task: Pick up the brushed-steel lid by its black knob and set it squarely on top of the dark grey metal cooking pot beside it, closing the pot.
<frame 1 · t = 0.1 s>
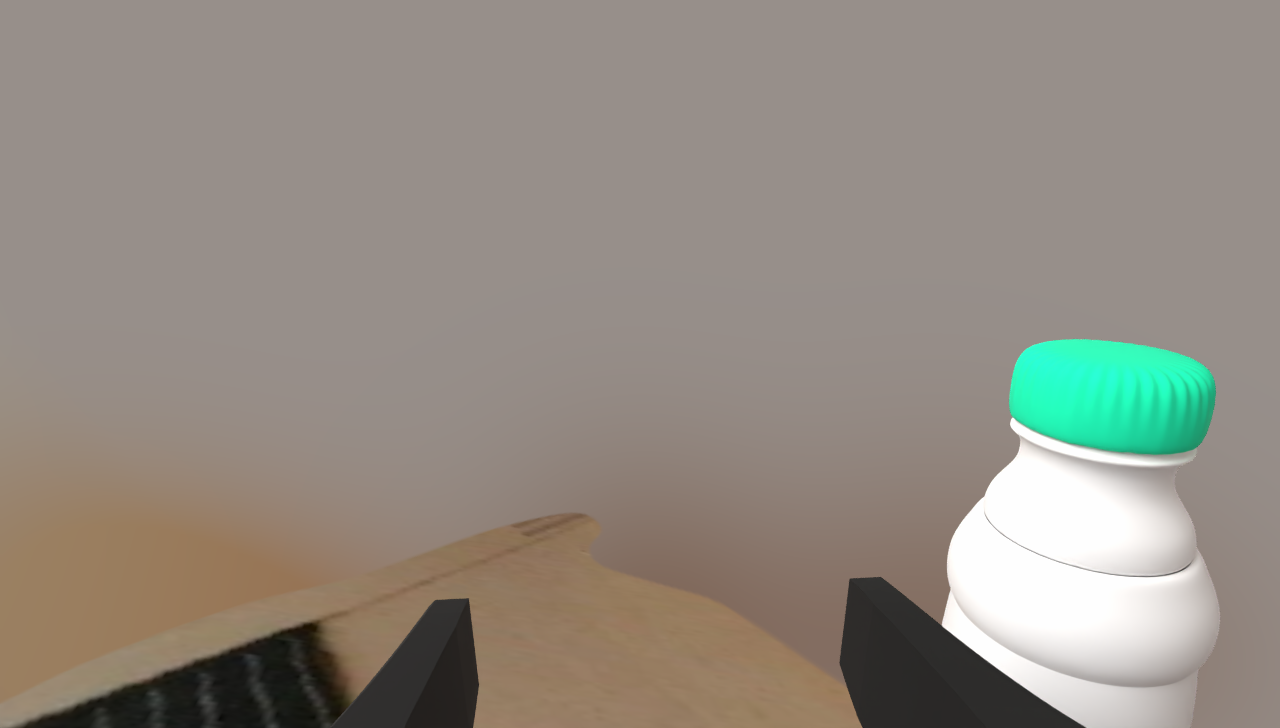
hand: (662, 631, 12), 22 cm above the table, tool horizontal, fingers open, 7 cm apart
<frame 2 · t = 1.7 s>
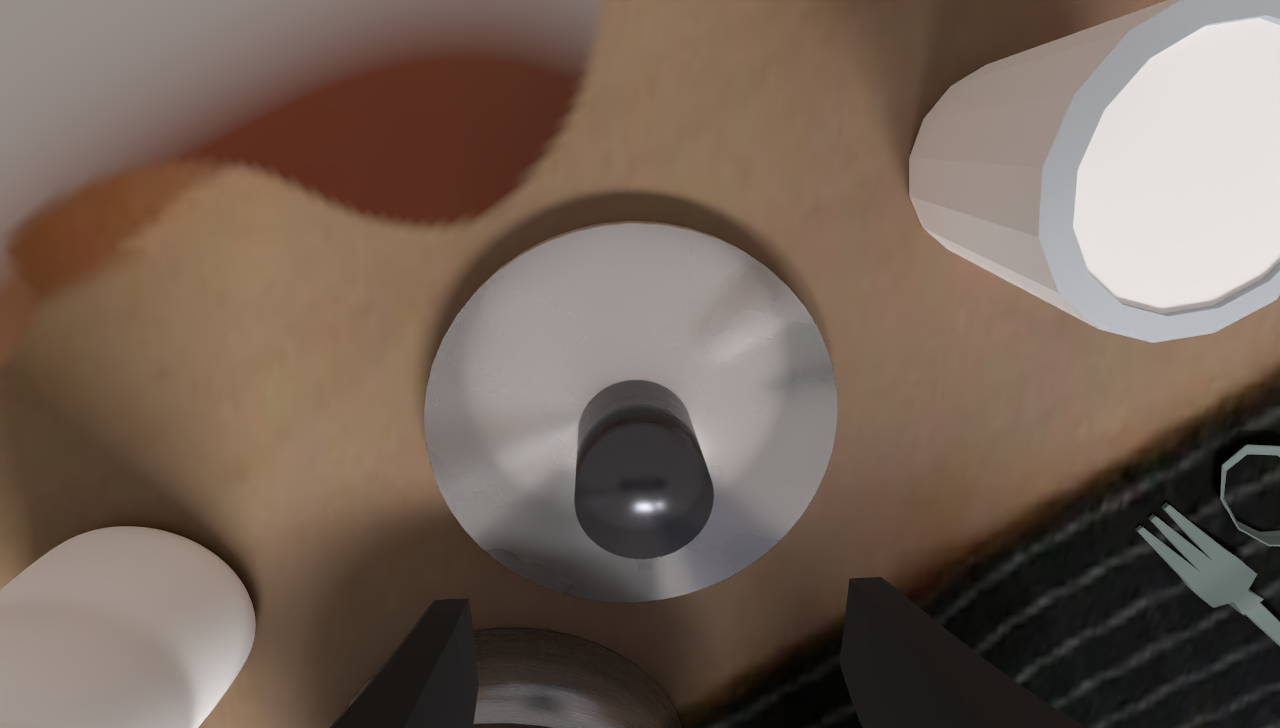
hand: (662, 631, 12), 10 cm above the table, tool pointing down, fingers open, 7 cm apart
white cup: (996, 162, 19), on the table
water bottle: (160, 600, 22), on the table
steel lid: (632, 417, 21), on the table
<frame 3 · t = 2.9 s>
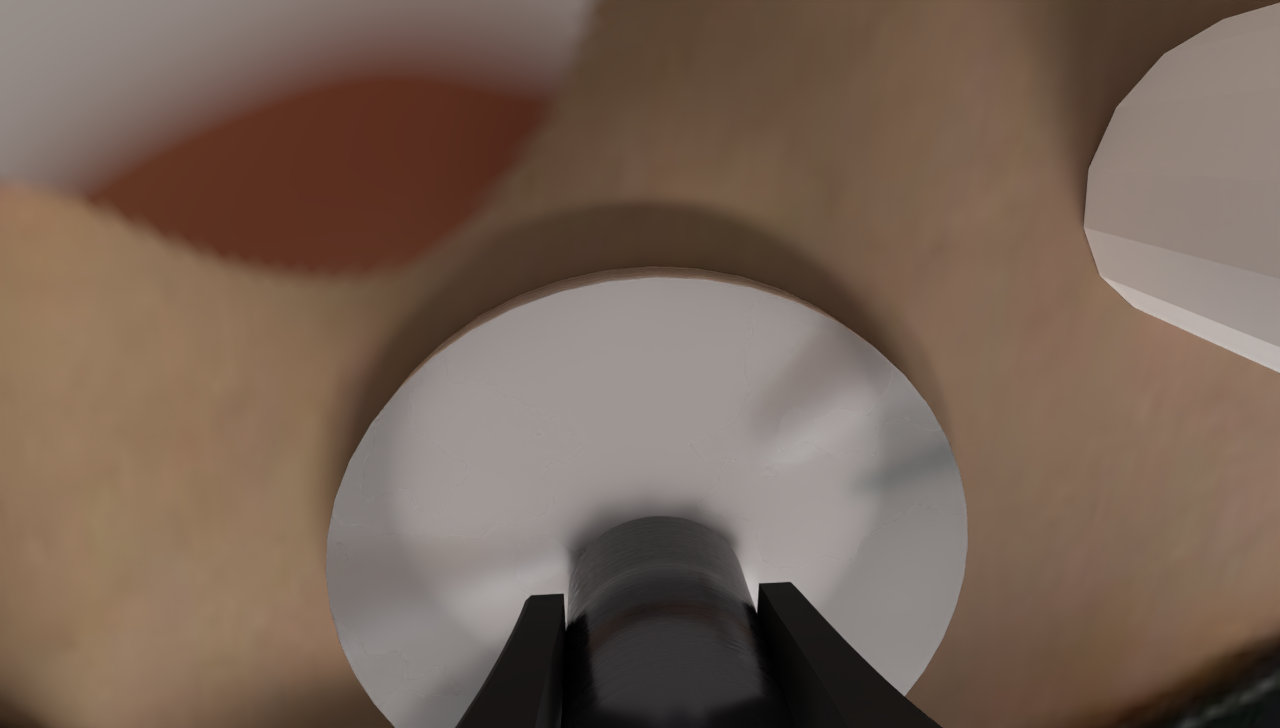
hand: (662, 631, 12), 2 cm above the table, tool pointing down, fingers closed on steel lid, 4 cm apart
white cup: (1218, 175, 12), on the table
steel lid: (651, 556, 14), on the table, touching gripper
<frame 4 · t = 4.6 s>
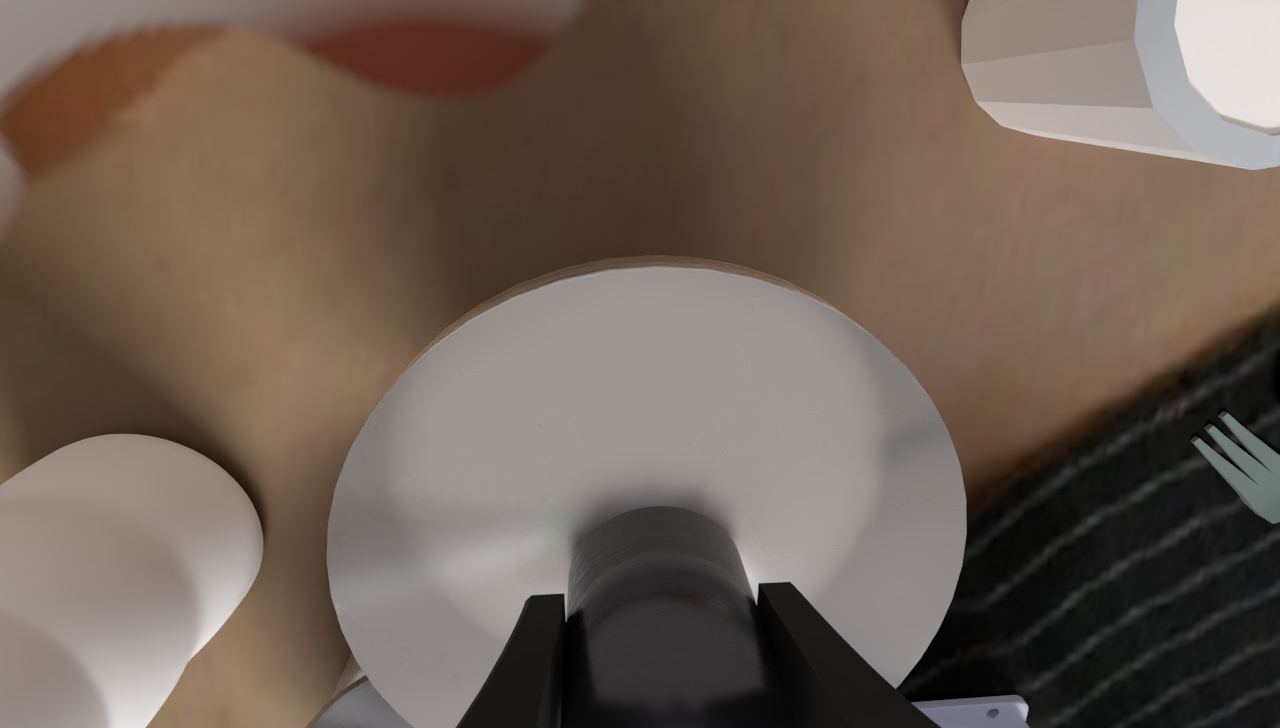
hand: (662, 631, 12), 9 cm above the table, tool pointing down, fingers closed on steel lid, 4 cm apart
white cup: (1054, 28, 18), on the table
water bottle: (162, 519, 21), on the table
steel lid: (651, 544, 14), point 7 cm above the table, touching gripper
cooking pot: (534, 704, 25), on the table
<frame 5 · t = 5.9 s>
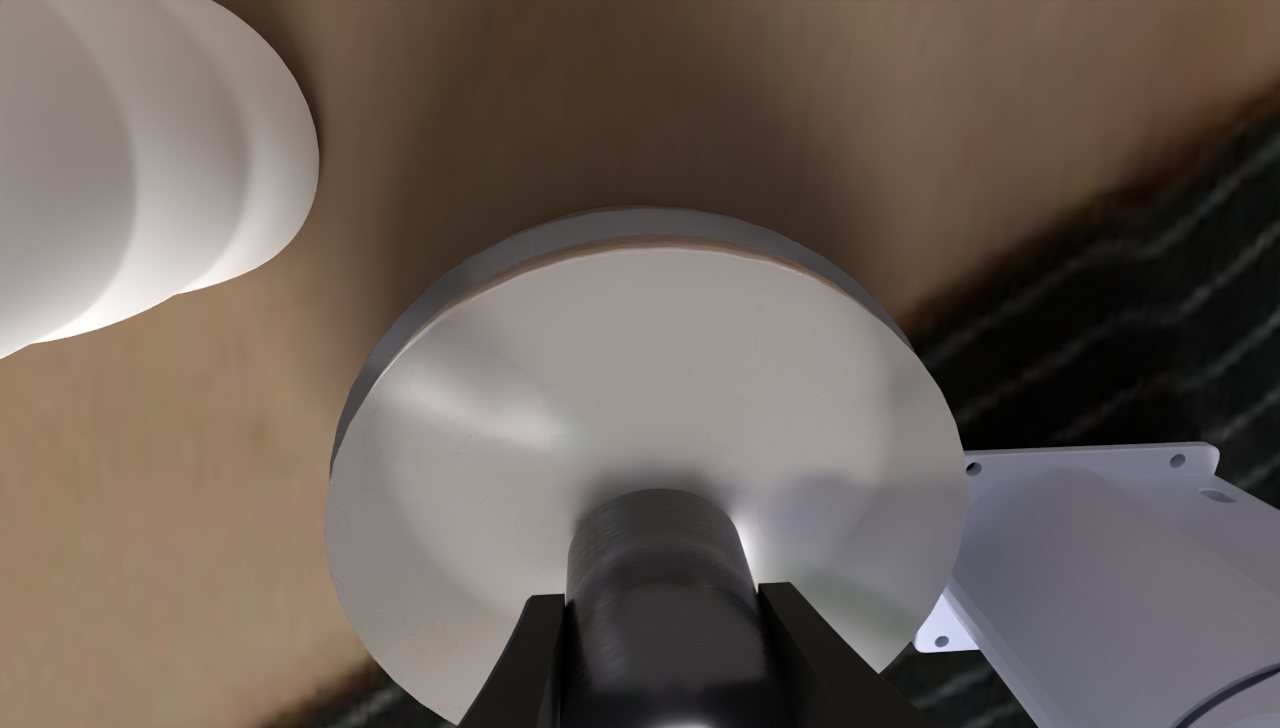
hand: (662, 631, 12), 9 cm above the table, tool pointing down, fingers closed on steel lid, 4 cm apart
water bottle: (192, 140, 17), on the table
steel lid: (650, 523, 14), point 6 cm above the table, tilted 5°, touching gripper
cooking pot: (634, 432, 20), on the table
when the fingers open (9 cm above the table, at t = 6.4 s): steel lid drops 1 cm, resting on cooking pot.
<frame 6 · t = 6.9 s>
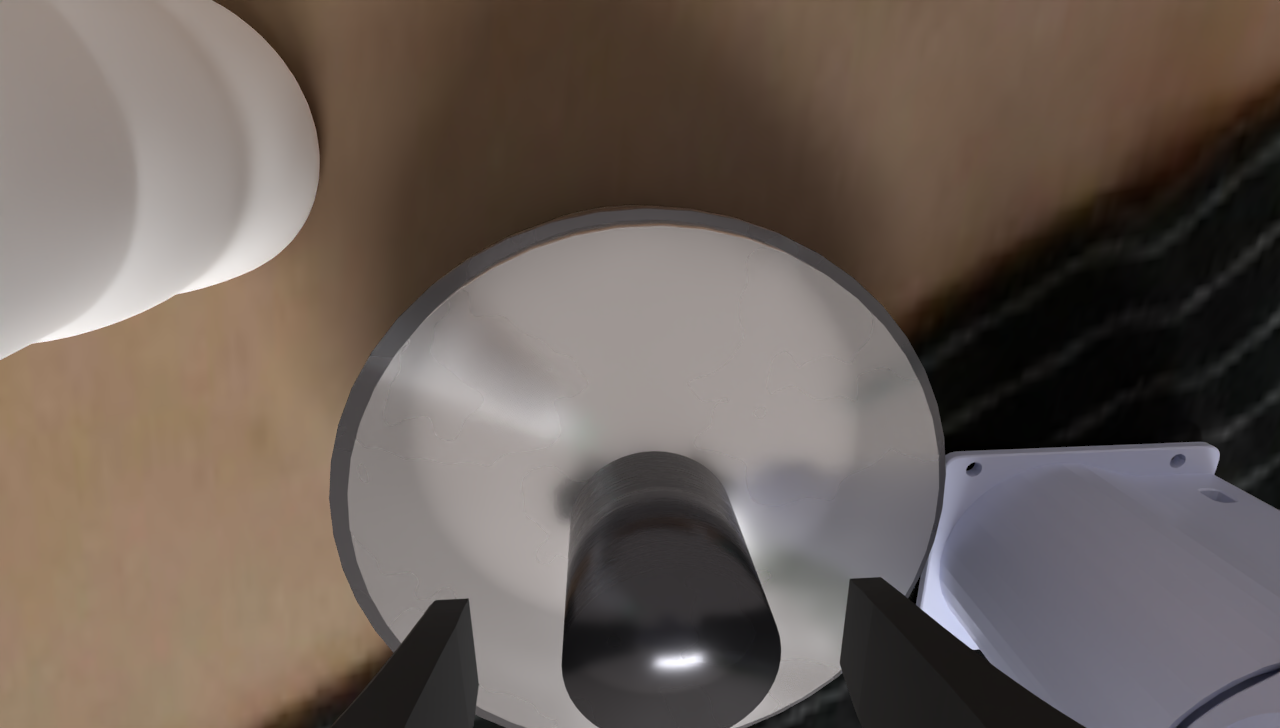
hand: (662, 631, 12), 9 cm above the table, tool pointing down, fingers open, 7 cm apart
water bottle: (193, 140, 17), on the table
steel lid: (647, 495, 15), point 5 cm above the table, touching cooking pot
cooking pot: (634, 432, 20), on the table
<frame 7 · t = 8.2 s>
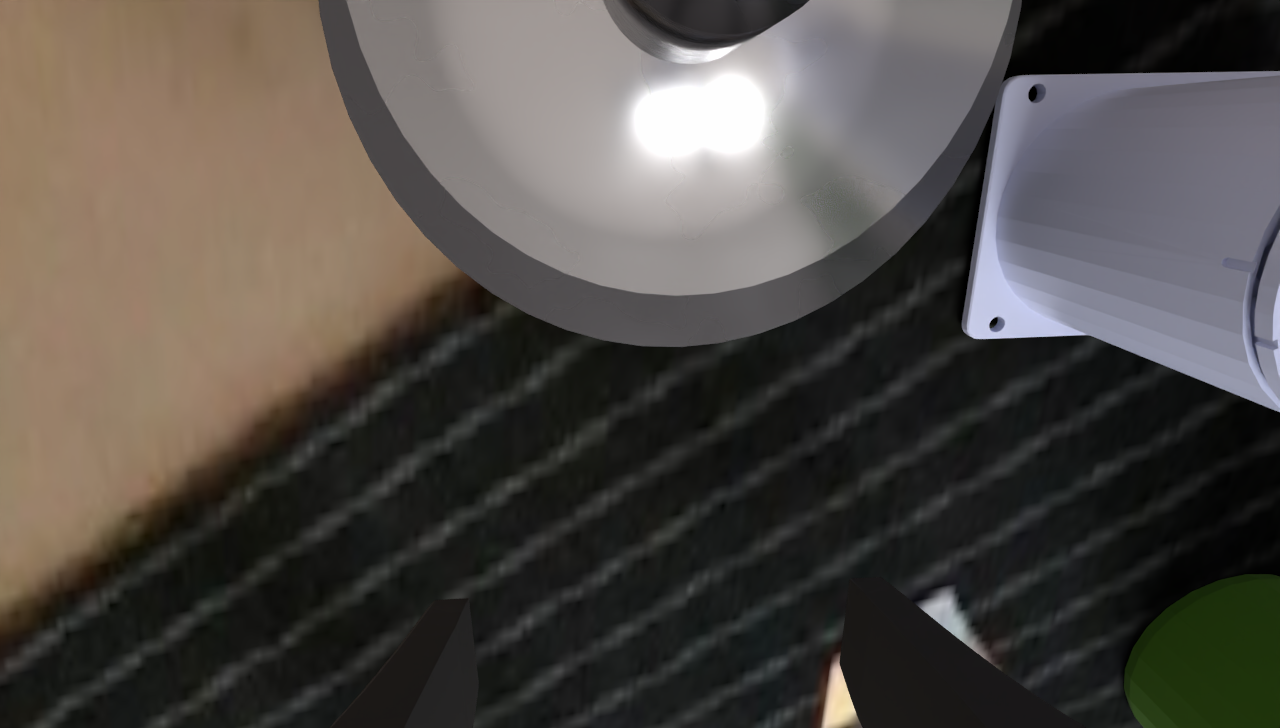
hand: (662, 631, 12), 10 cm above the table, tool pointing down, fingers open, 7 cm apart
wine bottle: (1217, 653, 28), on the table
cooking pot: (658, 43, 18), on the table
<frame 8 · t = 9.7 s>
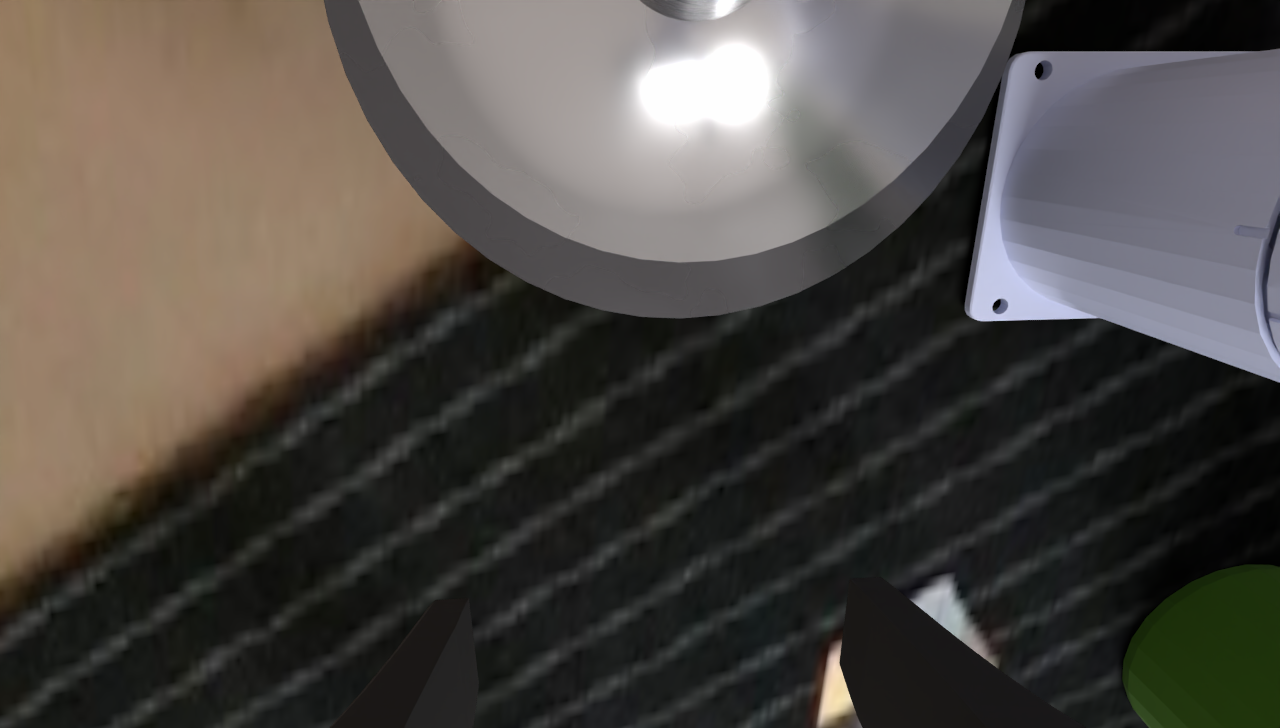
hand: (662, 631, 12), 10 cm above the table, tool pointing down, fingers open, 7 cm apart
wine bottle: (1216, 645, 28), on the table
cooking pot: (662, 14, 18), on the table
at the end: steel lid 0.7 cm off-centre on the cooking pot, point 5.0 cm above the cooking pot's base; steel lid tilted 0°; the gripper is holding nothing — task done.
